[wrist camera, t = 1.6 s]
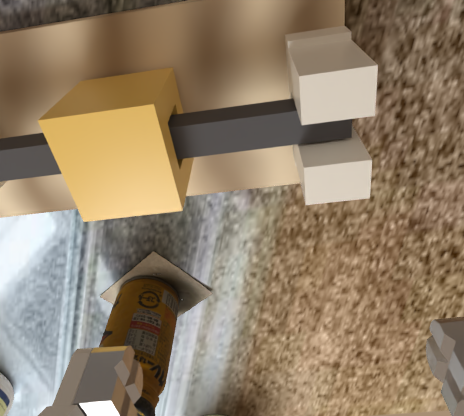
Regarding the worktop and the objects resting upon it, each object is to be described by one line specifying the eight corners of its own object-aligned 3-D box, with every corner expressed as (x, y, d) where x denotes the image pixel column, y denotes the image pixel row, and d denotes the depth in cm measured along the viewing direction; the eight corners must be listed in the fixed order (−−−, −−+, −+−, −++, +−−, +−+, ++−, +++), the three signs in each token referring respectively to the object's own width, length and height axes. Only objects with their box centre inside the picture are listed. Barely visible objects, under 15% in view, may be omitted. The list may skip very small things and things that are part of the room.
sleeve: (172, 67, 24) (153, 104, 19) (193, 158, 28) (182, 210, 23) (80, 81, 25) (37, 120, 20) (112, 168, 28) (83, 221, 23)
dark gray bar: (344, 91, 23) (352, 103, 21) (344, 123, 24) (351, 137, 22) (-66, 147, 25) (-87, 162, 24) (-49, 174, 26) (-68, 190, 25)
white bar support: (344, 25, 23) (378, 55, 17) (342, 147, 28) (369, 204, 22) (284, 34, 23) (298, 67, 18) (292, 153, 28) (306, 210, 22)
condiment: (100, 295, 39) (52, 418, 29) (153, 249, 35) (119, 372, 25) (158, 329, 42) (132, 452, 32) (213, 290, 38) (203, 415, 28)
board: (340, -26, 23) (345, -24, 22) (339, 170, 30) (342, 178, 29) (-112, 50, 26) (-126, 55, 25) (-12, 211, 33) (-20, 219, 32)
